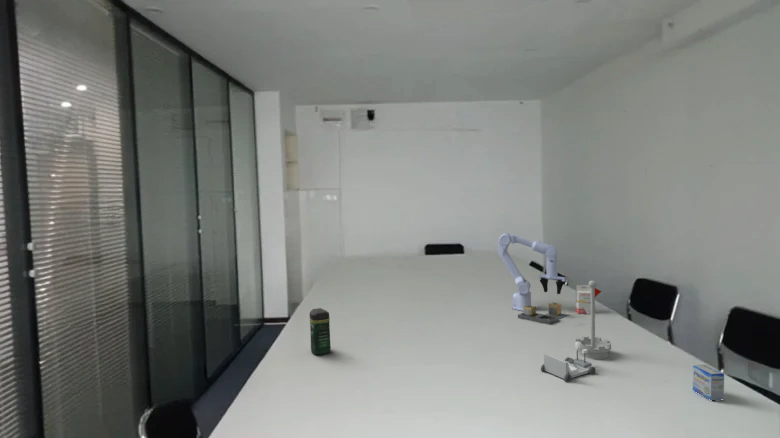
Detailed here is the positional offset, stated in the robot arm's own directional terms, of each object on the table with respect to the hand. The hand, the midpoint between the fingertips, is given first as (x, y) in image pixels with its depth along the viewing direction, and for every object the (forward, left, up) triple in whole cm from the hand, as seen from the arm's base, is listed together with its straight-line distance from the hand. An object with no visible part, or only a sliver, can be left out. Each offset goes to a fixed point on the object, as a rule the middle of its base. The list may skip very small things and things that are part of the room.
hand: (552, 292), depth 252 cm
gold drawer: (-2, -20, -10) cm, 22 cm away
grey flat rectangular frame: (+3, -20, -10) cm, 23 cm away
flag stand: (+45, -50, -10) cm, 68 cm away
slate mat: (+6, -8, -10) cm, 14 cm away
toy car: (+47, -73, -11) cm, 87 cm away
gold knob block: (+6, -8, -10) cm, 14 cm away
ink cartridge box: (+15, +7, -10) cm, 19 cm away
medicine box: (+87, -62, -10) cm, 107 cm away
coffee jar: (-40, -124, -10) cm, 131 cm away
